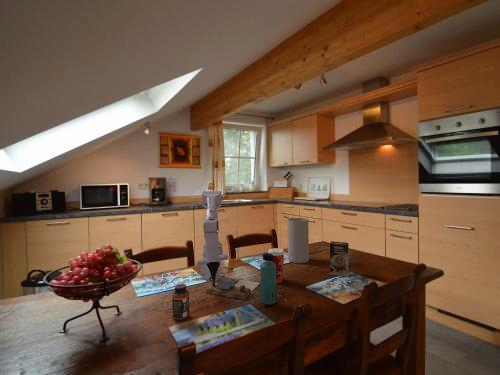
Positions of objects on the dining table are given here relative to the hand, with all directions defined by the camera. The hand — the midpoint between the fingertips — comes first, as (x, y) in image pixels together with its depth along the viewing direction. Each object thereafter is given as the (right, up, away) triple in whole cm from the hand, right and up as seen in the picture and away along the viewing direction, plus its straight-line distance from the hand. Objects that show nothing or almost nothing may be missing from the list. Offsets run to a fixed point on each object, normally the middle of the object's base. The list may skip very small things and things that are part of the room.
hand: (213, 279), depth 111 cm
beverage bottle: (+23, -7, -9) cm, 26 cm away
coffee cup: (+29, -6, +15) cm, 33 cm away
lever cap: (+5, -5, +2) cm, 8 cm away
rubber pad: (+14, -6, +9) cm, 18 cm away
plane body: (+6, -7, +2) cm, 9 cm away
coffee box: (+62, -5, +22) cm, 66 cm away
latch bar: (-1, 0, +1) cm, 2 cm away
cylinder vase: (+45, -5, +46) cm, 64 cm away
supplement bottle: (-9, -8, -17) cm, 21 cm away
